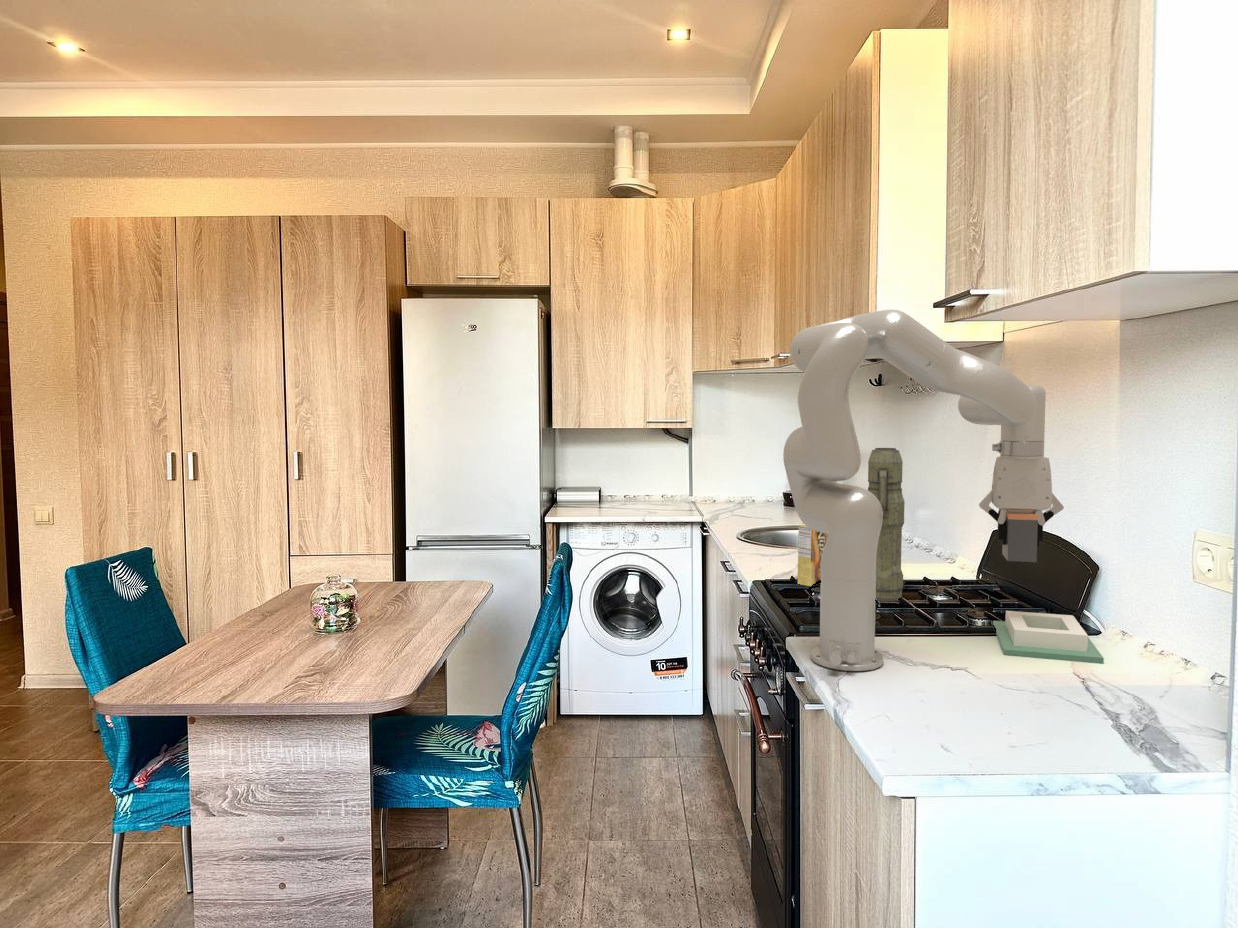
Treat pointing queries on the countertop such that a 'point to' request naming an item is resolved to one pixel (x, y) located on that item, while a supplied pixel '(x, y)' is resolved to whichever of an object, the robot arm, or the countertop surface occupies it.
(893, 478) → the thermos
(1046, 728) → the countertop surface
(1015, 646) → the board
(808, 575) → the candy box
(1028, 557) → the plug
